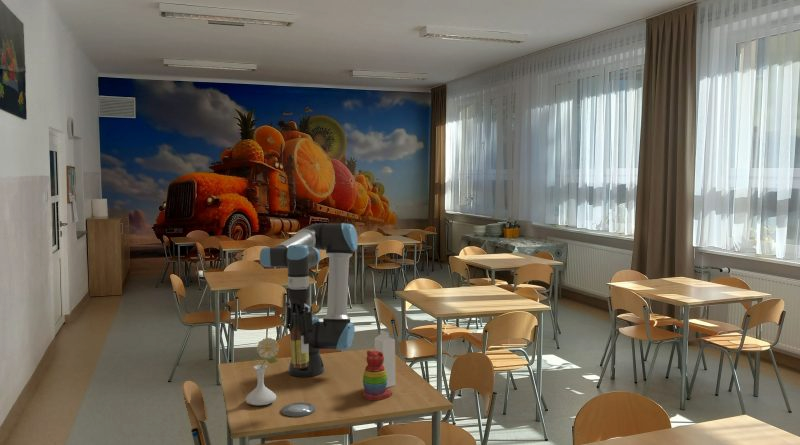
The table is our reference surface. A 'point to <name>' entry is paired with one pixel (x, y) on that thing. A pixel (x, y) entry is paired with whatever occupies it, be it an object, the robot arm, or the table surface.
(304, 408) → the coaster
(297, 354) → the sauce bottle
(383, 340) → the milk
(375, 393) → the stacking bear
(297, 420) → the table surface
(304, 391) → the table surface
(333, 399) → the table surface
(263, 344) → the flower in vase
